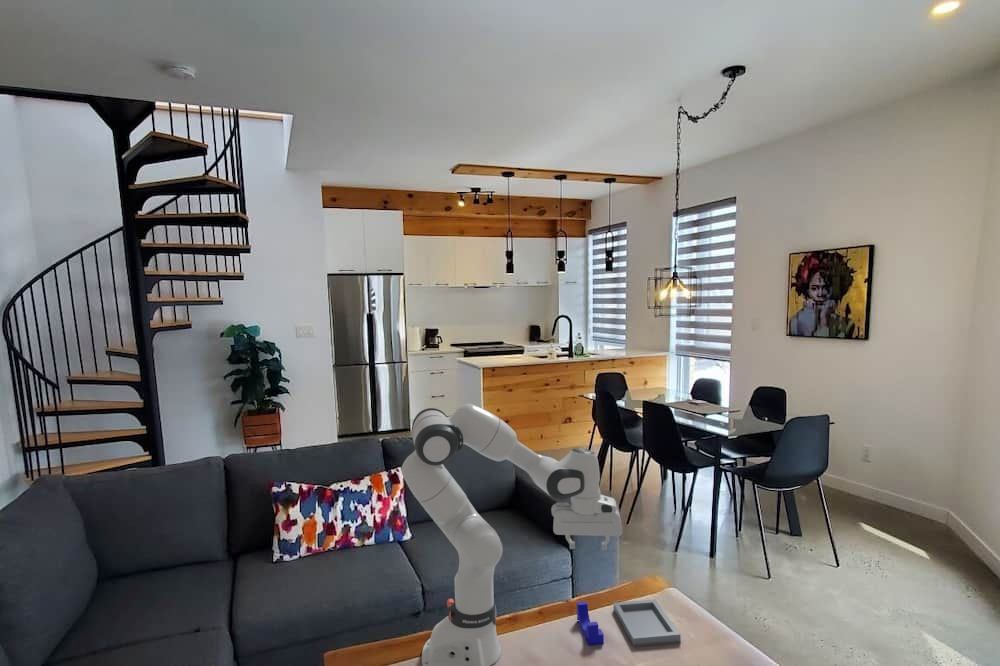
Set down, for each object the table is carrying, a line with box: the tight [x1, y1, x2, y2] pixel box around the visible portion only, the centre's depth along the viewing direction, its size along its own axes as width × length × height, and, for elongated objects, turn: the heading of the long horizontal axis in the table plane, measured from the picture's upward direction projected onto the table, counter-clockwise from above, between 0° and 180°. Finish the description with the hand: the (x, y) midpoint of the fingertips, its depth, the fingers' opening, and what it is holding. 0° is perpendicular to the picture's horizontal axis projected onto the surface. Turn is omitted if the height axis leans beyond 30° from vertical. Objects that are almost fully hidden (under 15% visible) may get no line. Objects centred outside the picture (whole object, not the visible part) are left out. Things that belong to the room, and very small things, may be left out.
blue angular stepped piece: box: [576, 601, 605, 647], centre depth 147 cm, size 12×4×6 cm, turn 7°
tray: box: [613, 599, 682, 648], centre depth 149 cm, size 14×18×2 cm
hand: (588, 548), depth 145 cm, fingers open, 8 cm apart
